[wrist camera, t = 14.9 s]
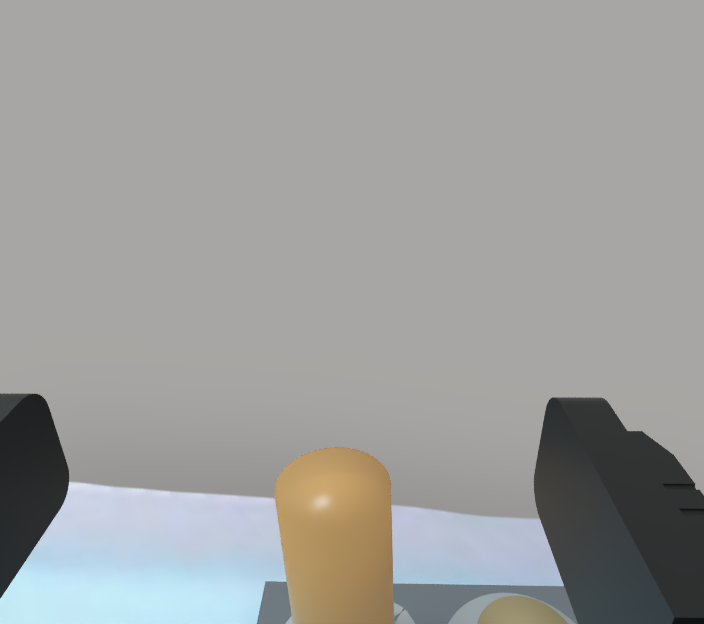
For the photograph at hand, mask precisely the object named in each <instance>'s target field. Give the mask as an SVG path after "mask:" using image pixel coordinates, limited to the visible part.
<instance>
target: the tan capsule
mask: <svg viewBox="0 0 704 624" xmlns="http://www.w3.org/2000/svg"><path fill="white" fill-rule="evenodd" d="M275 502H276V509H277V516H278V523H279V530H280V537H281V544H282V551H283V558H284V565H285V572H286V579H287V586H288V593H289V600H290V607H291V614H292V621H293V624H394V599H393V557H392V516H391V482H390V477H389V474H388V472H387V470H386V469H385V467H384V466H383V465H382V464H381V463H380V462H379V461H378V460H377V459H375V458H374V457H373V456H371V455H369V454H367V453H364V452H362V451H359V450H355V449H350V448H337V447H335V448H325V449H320V450H316V451H312V452H309V453H307V454H305V455H302V456H301V457H299V458H297V459H296V460H294V461H293V462H291V463H290V464H289V465H288V466H287V467H286V468H285V469H284V470H283V471H282V473H281V474H280V476H279V477H278V479H277V482H276V485H275Z"/></svg>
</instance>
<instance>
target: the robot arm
mask: <svg viewBox="0 0 704 624" xmlns="http://www.w3.org/2000/svg"><path fill="white" fill-rule="evenodd" d="M68 485H69V470H68V466H67V462H66V459H65V456H64V453H63V450H62V447H61V444H60V441H59V437H58V434H57V431H56V428H55V425H54V422H53V419H52V416H51V412H50V409H49V407H48V404H47V402H46V401H45V399H44V398H43V397H42V396H40V395H38V394H0V598H1V597H2V595H3V594H4V592H5V591H6V589H7V588H8V586H9V585H10V583H11V582H12V580H13V579H14V577H15V576H16V574H17V573H18V571H19V570H20V568H21V567H22V565H23V564H24V562H25V561H26V559H27V558H28V556H29V555H30V553H31V552H32V550H33V549H34V547H35V546H36V544H37V543H38V541H39V540H40V538H41V537H42V535H43V534H44V532H45V531H46V529H47V528H48V526H49V525H50V523H51V522H52V520H53V519H54V517H55V516H56V514H57V513H58V511H59V510H60V508H61V506H62V505H63V503H64V500H65V498H66V495H67V491H68ZM534 493H535V501H536V506H537V511H538V514H539V517H540V520H541V523H542V525H543V528H544V531H545V534H546V537H547V539H548V542H549V545H550V548H551V550H552V553H553V556H554V559H555V562H556V564H557V567H558V570H559V573H560V575H561V578H562V581H563V584H564V587H565V589H566V592H567V595H568V598H569V600H570V603H571V606H572V609H573V612H574V614H575V617H576V620H577V623H578V624H704V495H703V494H702V493H701V491H700V490H696V489H695V483H694V482H693V481H692V479H691V478H690V477H689V475H688V474H687V472H686V471H685V470H684V469H683V467H682V466H681V464H680V463H679V462H678V460H677V459H676V458H675V456H674V455H673V454H671V453H670V452H669V451H667V450H666V449H665V448H663V447H662V446H661V445H659V444H658V443H657V442H655V441H654V440H653V439H651V438H650V437H649V436H647V435H646V434H644V433H643V432H642V431H627V430H626V429H625V427H624V426H623V424H622V423H621V421H620V420H619V418H618V417H617V415H616V414H615V412H614V411H613V409H612V408H611V406H610V405H609V403H608V402H607V401H606V400H605V399H603V398H551V399H550V400H549V402H548V404H547V407H546V411H545V417H544V422H543V428H542V434H541V439H540V445H539V451H538V457H537V462H536V468H535V474H534Z"/></svg>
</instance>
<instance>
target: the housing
mask: <svg viewBox="0 0 704 624" xmlns="http://www.w3.org/2000/svg"><path fill="white" fill-rule="evenodd" d="M393 599H394V624H578V623H577V620H576V617H575V614H574V612H573V609H572V606H571V603H570V600H569V598H568V595H567V592H566V589H565V587H564V586H504V585H443V584H393ZM257 624H293V621H292V614H291V607H290V600H289V593H288V586H287V582H265V587H264V592H263V597H262V602H261V606H260V611H259V616H258V621H257Z"/></svg>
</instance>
